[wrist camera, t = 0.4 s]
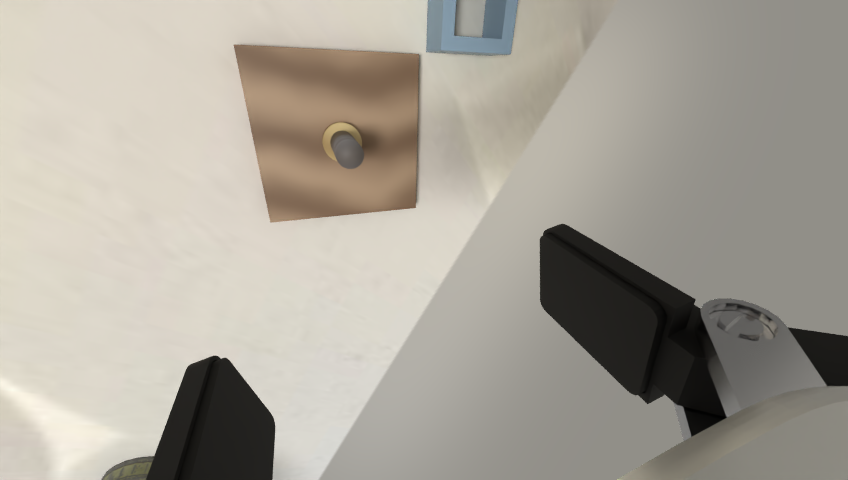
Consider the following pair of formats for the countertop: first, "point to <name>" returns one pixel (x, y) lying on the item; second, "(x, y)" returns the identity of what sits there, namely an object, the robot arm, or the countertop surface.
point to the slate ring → (492, 42)
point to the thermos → (130, 470)
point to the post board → (332, 129)
